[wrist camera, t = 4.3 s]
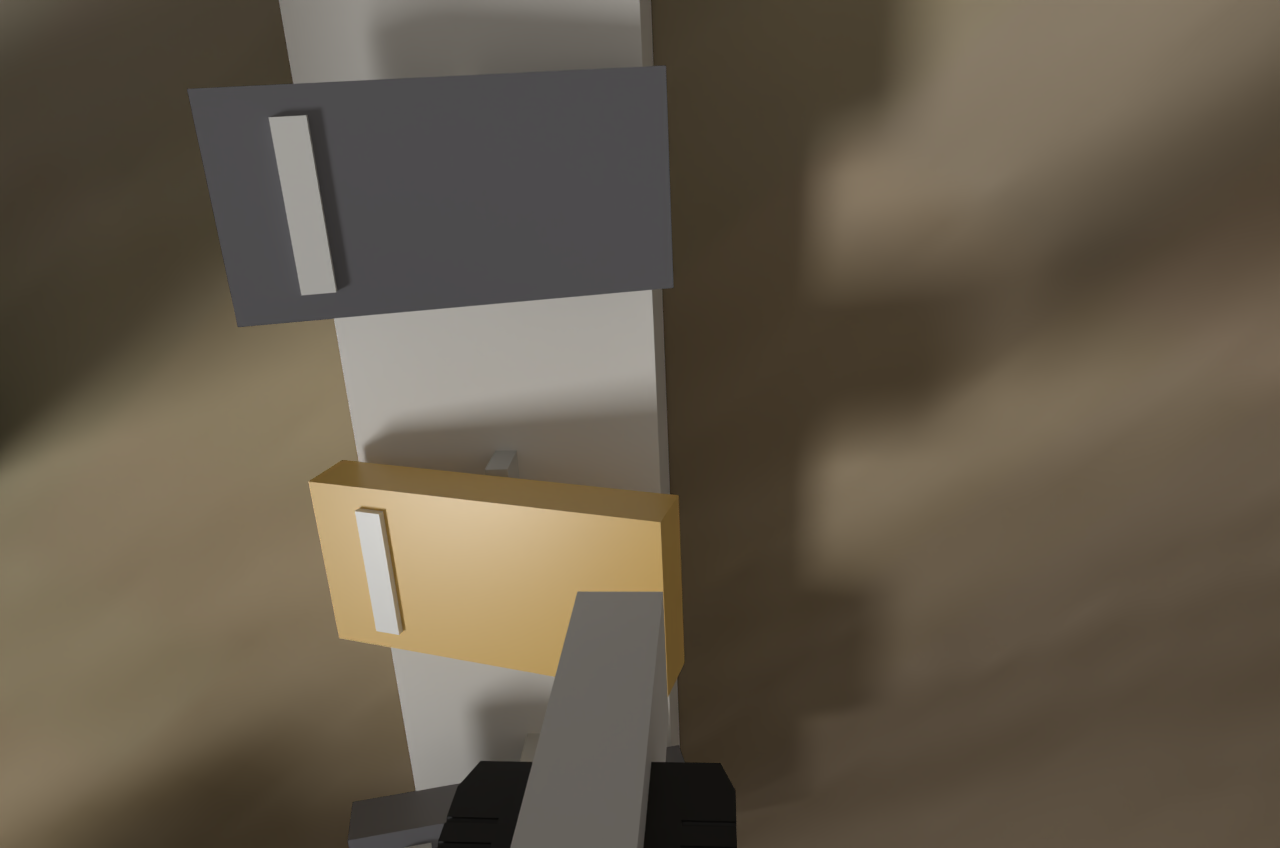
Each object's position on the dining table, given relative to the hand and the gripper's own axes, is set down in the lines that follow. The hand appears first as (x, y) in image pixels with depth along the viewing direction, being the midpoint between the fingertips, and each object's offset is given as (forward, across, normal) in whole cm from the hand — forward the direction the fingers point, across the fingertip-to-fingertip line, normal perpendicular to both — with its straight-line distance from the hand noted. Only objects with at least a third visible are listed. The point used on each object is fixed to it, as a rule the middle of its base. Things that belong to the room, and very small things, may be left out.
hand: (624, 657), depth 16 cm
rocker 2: (+3, -3, 0) cm, 5 cm away
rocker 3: (+3, -3, +8) cm, 9 cm away
